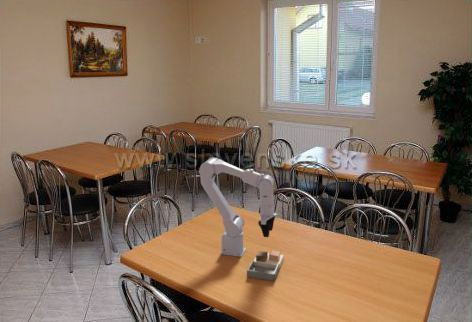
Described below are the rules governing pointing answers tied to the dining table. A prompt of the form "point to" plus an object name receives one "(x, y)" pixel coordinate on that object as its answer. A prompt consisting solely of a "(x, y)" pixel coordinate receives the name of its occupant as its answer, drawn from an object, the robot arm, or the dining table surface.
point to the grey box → (262, 272)
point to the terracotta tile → (274, 255)
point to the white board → (269, 262)
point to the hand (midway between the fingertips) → (267, 233)
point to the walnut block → (261, 256)
